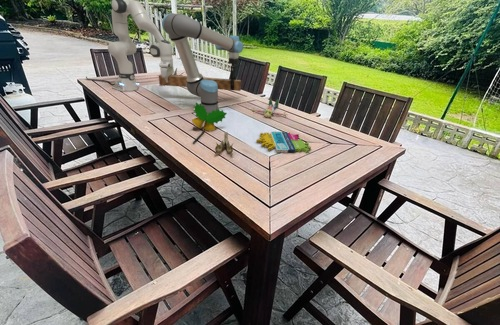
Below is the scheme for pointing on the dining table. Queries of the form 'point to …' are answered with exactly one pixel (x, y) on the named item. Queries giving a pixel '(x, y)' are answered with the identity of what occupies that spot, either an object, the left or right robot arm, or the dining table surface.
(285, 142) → the sign
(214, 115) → the ornament
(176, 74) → the airplane
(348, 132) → the dining table surface
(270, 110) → the toy
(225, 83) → the beam
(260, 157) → the dining table surface
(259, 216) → the dining table surface
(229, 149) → the jawbone
